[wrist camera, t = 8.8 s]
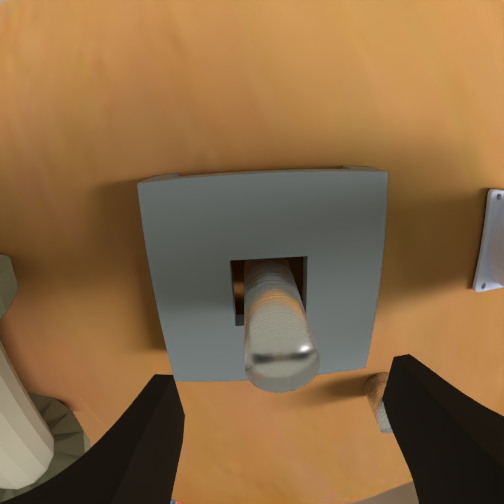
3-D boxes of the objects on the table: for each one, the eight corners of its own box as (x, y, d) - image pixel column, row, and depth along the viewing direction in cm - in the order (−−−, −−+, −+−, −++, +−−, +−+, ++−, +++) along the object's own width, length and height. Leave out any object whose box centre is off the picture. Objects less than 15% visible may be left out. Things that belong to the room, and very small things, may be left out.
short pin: (395, 369, 22) (416, 407, 18) (388, 391, 23) (406, 428, 19) (366, 375, 22) (384, 415, 18) (361, 396, 23) (376, 436, 19)
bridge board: (366, 166, 17) (388, 171, 14) (352, 341, 21) (365, 368, 18) (154, 176, 17) (136, 183, 14) (182, 352, 21) (175, 381, 18)
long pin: (290, 246, 18) (327, 337, 10) (284, 286, 19) (312, 392, 11) (245, 243, 18) (248, 335, 10) (242, 283, 19) (242, 391, 11)
